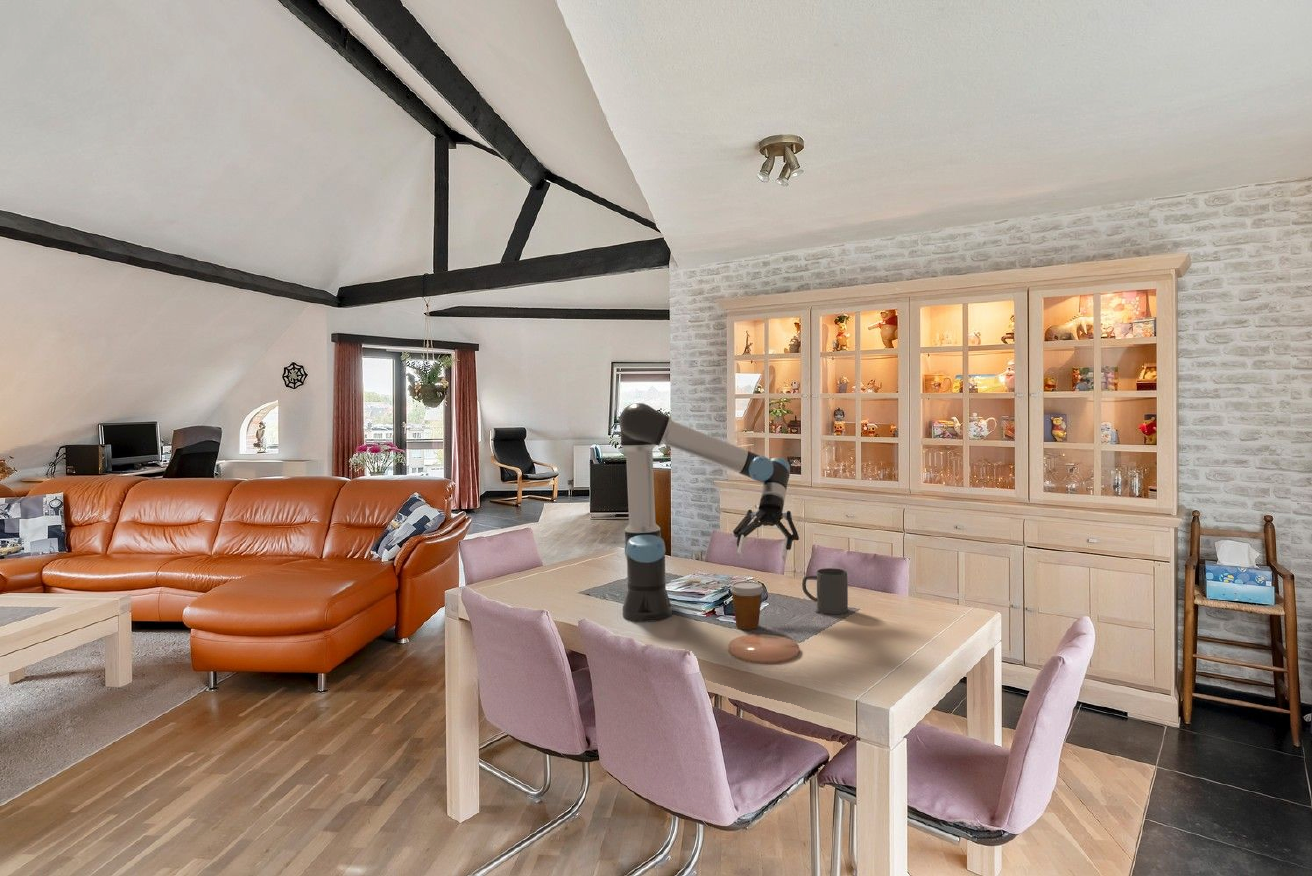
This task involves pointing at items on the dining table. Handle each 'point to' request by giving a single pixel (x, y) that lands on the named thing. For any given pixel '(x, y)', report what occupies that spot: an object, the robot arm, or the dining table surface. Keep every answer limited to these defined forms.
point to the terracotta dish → (763, 648)
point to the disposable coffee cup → (747, 603)
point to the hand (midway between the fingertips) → (761, 556)
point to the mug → (830, 590)
